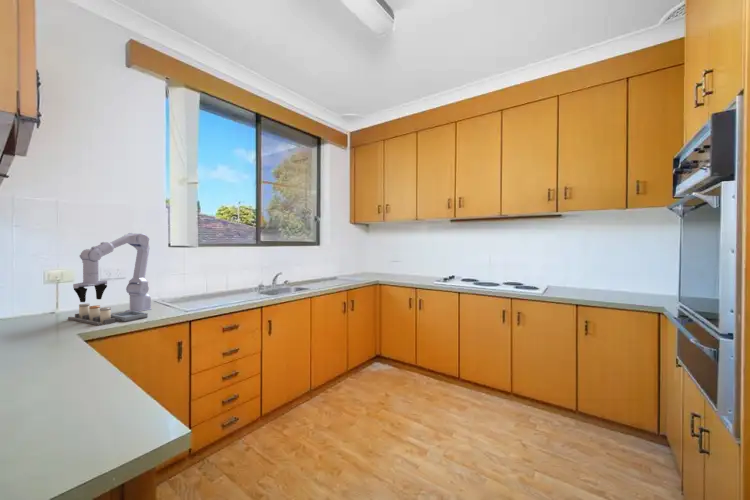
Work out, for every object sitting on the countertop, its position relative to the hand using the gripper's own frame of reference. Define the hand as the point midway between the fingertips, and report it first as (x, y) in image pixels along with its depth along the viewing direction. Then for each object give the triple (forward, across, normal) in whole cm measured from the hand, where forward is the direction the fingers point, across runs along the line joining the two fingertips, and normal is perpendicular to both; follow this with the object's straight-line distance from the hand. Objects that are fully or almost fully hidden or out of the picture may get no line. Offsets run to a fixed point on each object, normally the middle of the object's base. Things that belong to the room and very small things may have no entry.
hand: (91, 300), depth 161 cm
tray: (+10, -8, +13) cm, 18 cm away
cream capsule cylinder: (+10, -2, -8) cm, 13 cm away
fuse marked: (+10, -1, +1) cm, 10 cm away
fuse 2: (+10, +1, +10) cm, 14 cm away
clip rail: (+10, -1, +1) cm, 10 cm away
